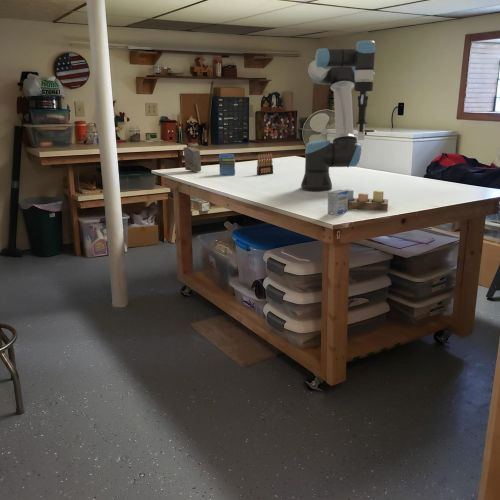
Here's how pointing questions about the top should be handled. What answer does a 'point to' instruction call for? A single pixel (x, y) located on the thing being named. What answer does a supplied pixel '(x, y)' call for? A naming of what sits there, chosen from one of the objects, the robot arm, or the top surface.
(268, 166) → the ammunition clip
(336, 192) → the medicine box
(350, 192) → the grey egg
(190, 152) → the geological specimen
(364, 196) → the button terracotta
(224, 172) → the label tape box
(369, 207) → the button board
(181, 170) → the top surface
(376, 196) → the button ochre
